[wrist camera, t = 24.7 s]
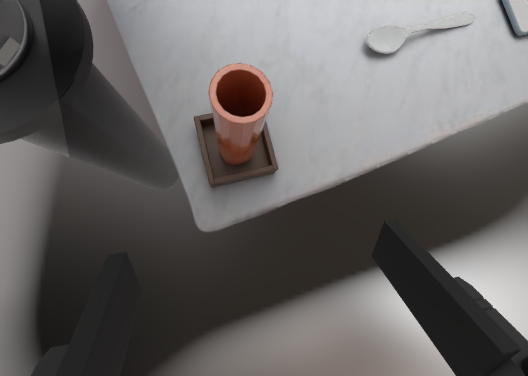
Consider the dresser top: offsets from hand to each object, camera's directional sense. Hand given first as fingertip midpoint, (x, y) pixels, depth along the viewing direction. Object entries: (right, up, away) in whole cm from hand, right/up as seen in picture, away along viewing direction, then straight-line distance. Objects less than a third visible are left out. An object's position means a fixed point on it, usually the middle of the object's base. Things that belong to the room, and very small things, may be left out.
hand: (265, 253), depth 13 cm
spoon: (+24, +27, +25) cm, 44 cm away
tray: (-4, +8, +19) cm, 21 cm away
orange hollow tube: (-4, +8, +18) cm, 20 cm away
